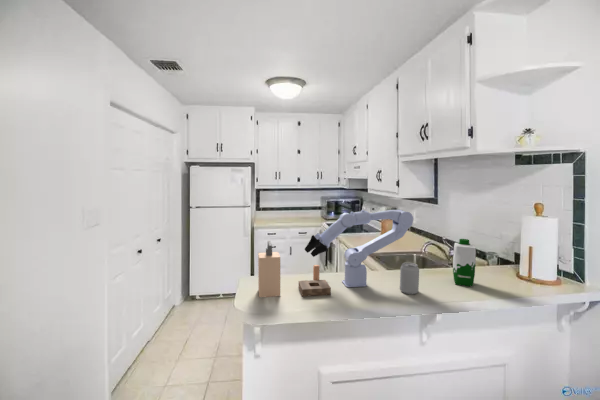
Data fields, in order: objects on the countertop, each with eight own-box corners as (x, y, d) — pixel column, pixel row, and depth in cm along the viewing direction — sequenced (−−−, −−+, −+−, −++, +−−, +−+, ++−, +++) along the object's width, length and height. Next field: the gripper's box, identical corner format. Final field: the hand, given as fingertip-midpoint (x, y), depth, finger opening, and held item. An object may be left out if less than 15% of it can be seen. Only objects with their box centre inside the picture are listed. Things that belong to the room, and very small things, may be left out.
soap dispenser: (258, 289, 129) (258, 239, 127) (278, 288, 130) (278, 238, 129) (259, 301, 116) (259, 246, 115) (281, 300, 118) (281, 245, 116)
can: (409, 296, 122) (410, 267, 121) (395, 290, 129) (396, 263, 128) (422, 293, 126) (423, 265, 125) (408, 287, 132) (409, 260, 132)
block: (325, 286, 133) (325, 279, 133) (330, 295, 123) (330, 288, 123) (298, 287, 131) (298, 281, 131) (302, 296, 121) (302, 289, 121)
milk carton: (472, 281, 140) (474, 239, 139) (475, 288, 132) (477, 243, 130) (451, 279, 144) (453, 237, 142) (453, 285, 135) (455, 241, 134)
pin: (318, 281, 139) (318, 264, 139) (319, 283, 136) (320, 266, 136) (312, 281, 139) (312, 265, 138) (313, 284, 136) (314, 266, 135)
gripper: (331, 232, 142) (309, 250, 143) (321, 221, 130) (297, 242, 131) (340, 242, 138) (318, 261, 139) (330, 232, 126) (306, 254, 127)
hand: (308, 253), depth 134 cm, fingers open, 7 cm apart
